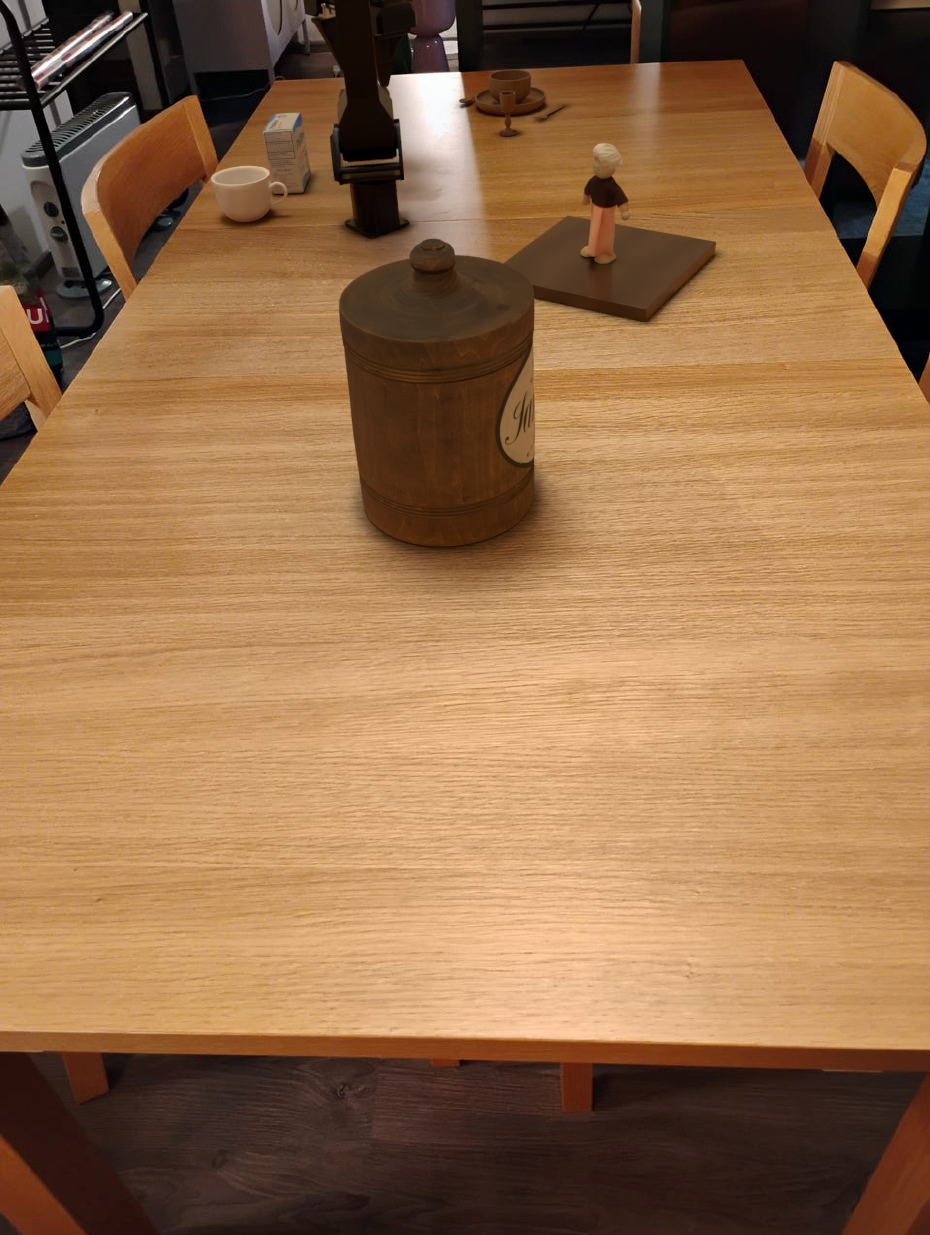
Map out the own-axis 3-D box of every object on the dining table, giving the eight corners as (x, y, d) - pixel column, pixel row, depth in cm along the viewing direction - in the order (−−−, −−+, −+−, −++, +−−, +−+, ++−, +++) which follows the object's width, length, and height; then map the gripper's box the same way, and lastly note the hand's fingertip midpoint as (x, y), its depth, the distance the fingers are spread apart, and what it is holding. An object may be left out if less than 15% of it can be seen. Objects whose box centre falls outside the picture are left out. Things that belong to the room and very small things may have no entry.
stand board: (714, 253, 120) (716, 241, 119) (645, 322, 107) (646, 309, 106) (567, 227, 128) (567, 215, 127) (487, 287, 116) (486, 275, 115)
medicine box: (303, 193, 142) (293, 129, 136) (273, 195, 142) (261, 130, 136) (311, 174, 148) (301, 111, 142) (281, 175, 148) (271, 113, 142)
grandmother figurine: (565, 255, 118) (567, 142, 109) (585, 245, 120) (589, 132, 111) (617, 271, 114) (624, 155, 105) (637, 260, 116) (645, 145, 107)
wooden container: (559, 526, 82) (564, 265, 67) (384, 565, 79) (348, 302, 64) (504, 434, 92) (497, 191, 77) (347, 466, 90) (310, 221, 75)
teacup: (212, 226, 134) (203, 185, 131) (229, 205, 140) (221, 165, 136) (283, 226, 133) (276, 185, 129) (298, 205, 138) (291, 165, 135)
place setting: (574, 102, 168) (575, 63, 164) (514, 138, 155) (513, 96, 151) (485, 91, 175) (484, 54, 171) (422, 124, 163) (419, 85, 159)
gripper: (446, -58, 123) (453, 80, 134) (363, -72, 135) (376, 57, 145) (372, -43, 119) (385, 99, 129) (292, -59, 130) (311, 73, 140)
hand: (365, 80), depth 136 cm, fingers open, 9 cm apart
